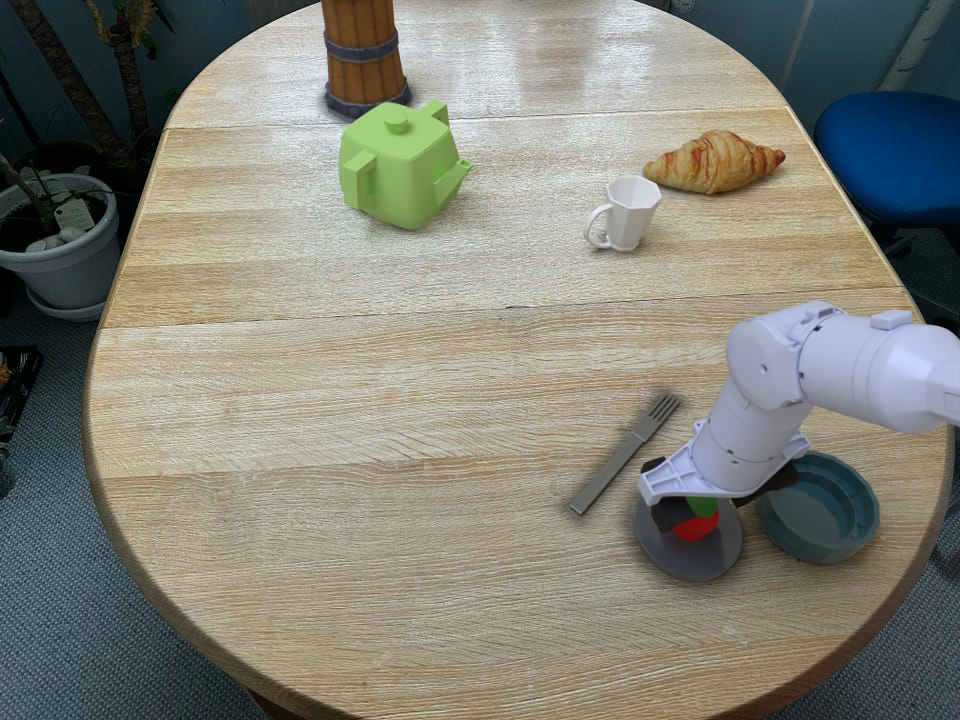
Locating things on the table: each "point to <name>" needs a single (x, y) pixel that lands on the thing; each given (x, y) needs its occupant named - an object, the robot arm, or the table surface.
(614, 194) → the cup
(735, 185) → the croissant
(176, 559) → the table surface
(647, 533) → the plate
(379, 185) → the teapot
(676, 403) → the fork
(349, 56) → the mug
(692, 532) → the strawberry
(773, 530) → the bowl
